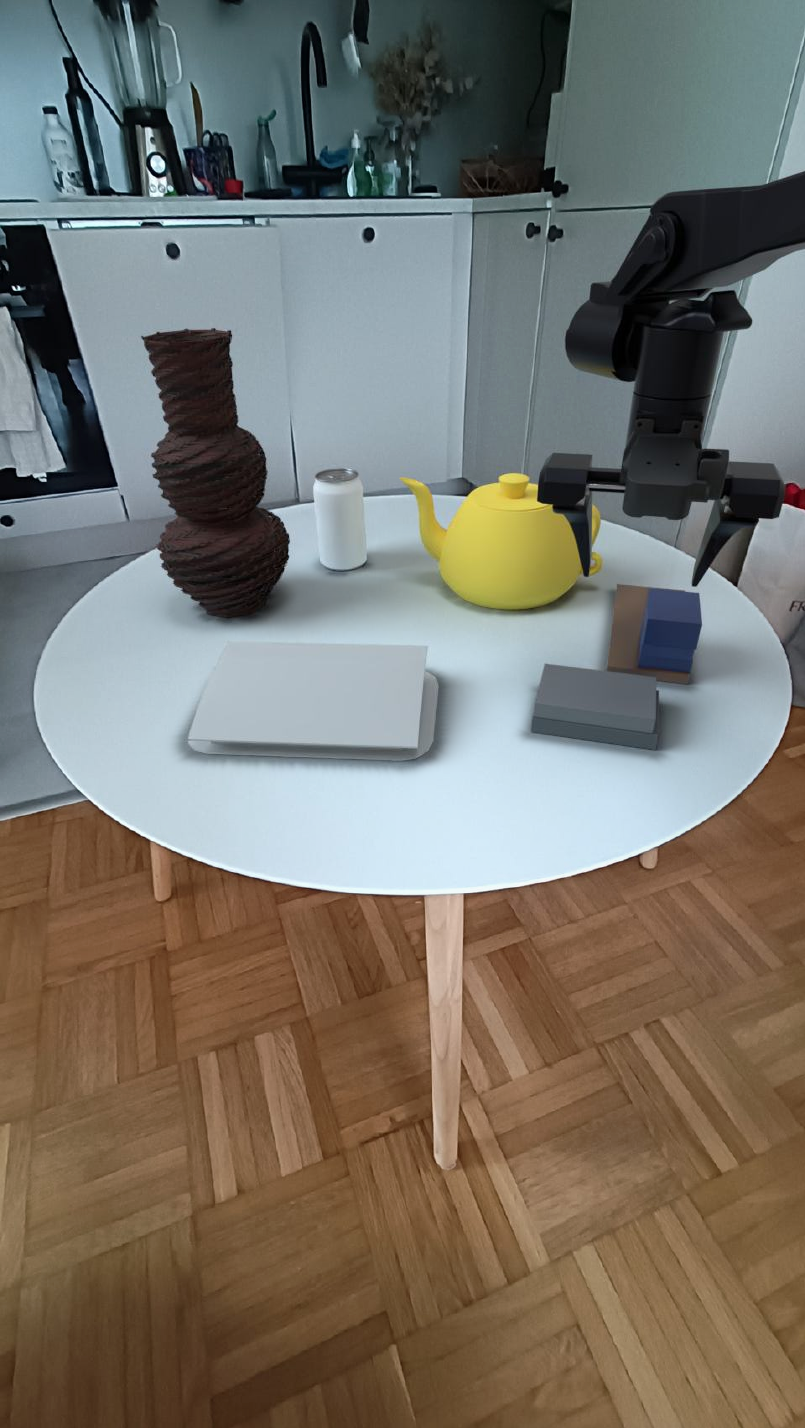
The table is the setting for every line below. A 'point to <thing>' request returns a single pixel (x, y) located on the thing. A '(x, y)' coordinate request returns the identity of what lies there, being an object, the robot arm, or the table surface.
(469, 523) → the teapot
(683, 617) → the navy block
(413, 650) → the book
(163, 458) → the vase
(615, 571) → the table surface
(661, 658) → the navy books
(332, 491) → the can
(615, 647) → the board
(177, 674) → the table surface
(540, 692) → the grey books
